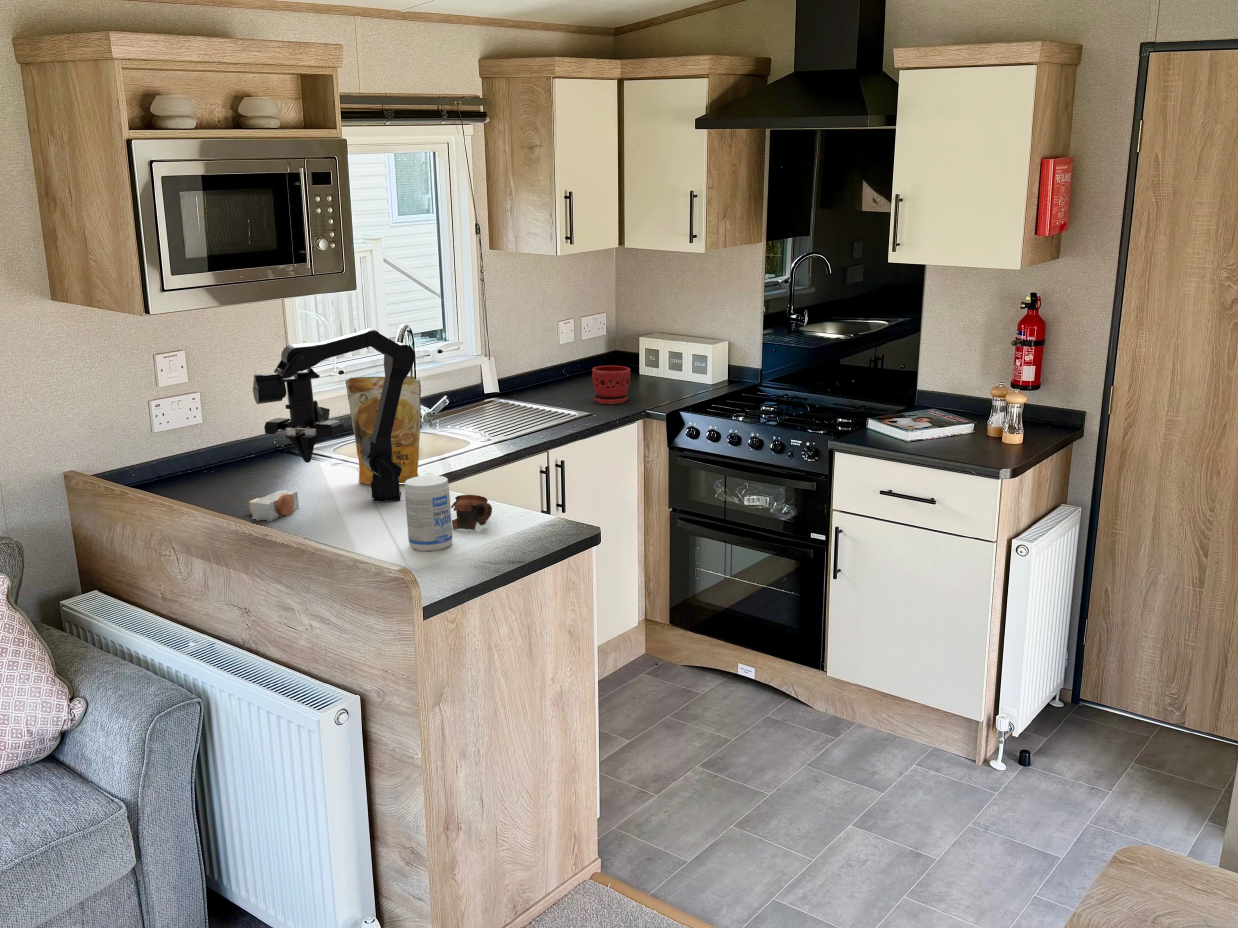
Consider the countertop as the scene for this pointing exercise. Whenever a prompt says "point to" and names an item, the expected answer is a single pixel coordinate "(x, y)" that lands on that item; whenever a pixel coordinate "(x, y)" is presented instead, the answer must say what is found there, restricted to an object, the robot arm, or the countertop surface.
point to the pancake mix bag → (405, 428)
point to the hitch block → (271, 505)
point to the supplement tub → (428, 512)
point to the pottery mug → (470, 511)
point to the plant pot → (611, 384)
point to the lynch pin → (281, 504)
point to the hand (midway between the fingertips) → (307, 462)
